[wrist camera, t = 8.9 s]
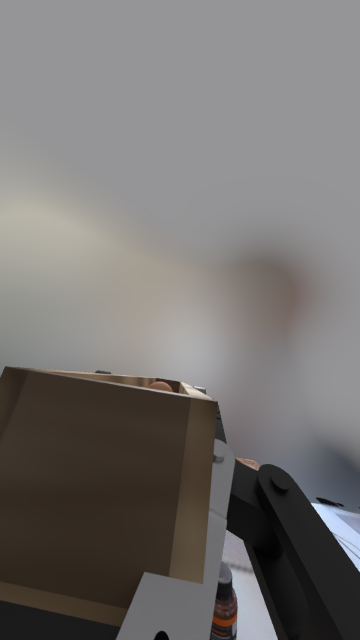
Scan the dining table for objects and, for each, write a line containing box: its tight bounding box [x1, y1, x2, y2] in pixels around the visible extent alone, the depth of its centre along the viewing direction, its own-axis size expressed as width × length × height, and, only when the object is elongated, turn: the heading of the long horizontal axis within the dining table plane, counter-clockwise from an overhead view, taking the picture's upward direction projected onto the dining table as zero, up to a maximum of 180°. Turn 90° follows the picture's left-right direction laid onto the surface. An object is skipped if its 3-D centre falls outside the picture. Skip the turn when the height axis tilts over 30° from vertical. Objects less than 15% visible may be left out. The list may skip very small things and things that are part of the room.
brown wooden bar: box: [0, 367, 218, 627], centre depth 16 cm, size 26×5×4 cm, turn 1°
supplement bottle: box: [209, 561, 237, 640], centre depth 28 cm, size 6×6×11 cm
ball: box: [148, 382, 173, 392], centre depth 19 cm, size 3×3×3 cm
